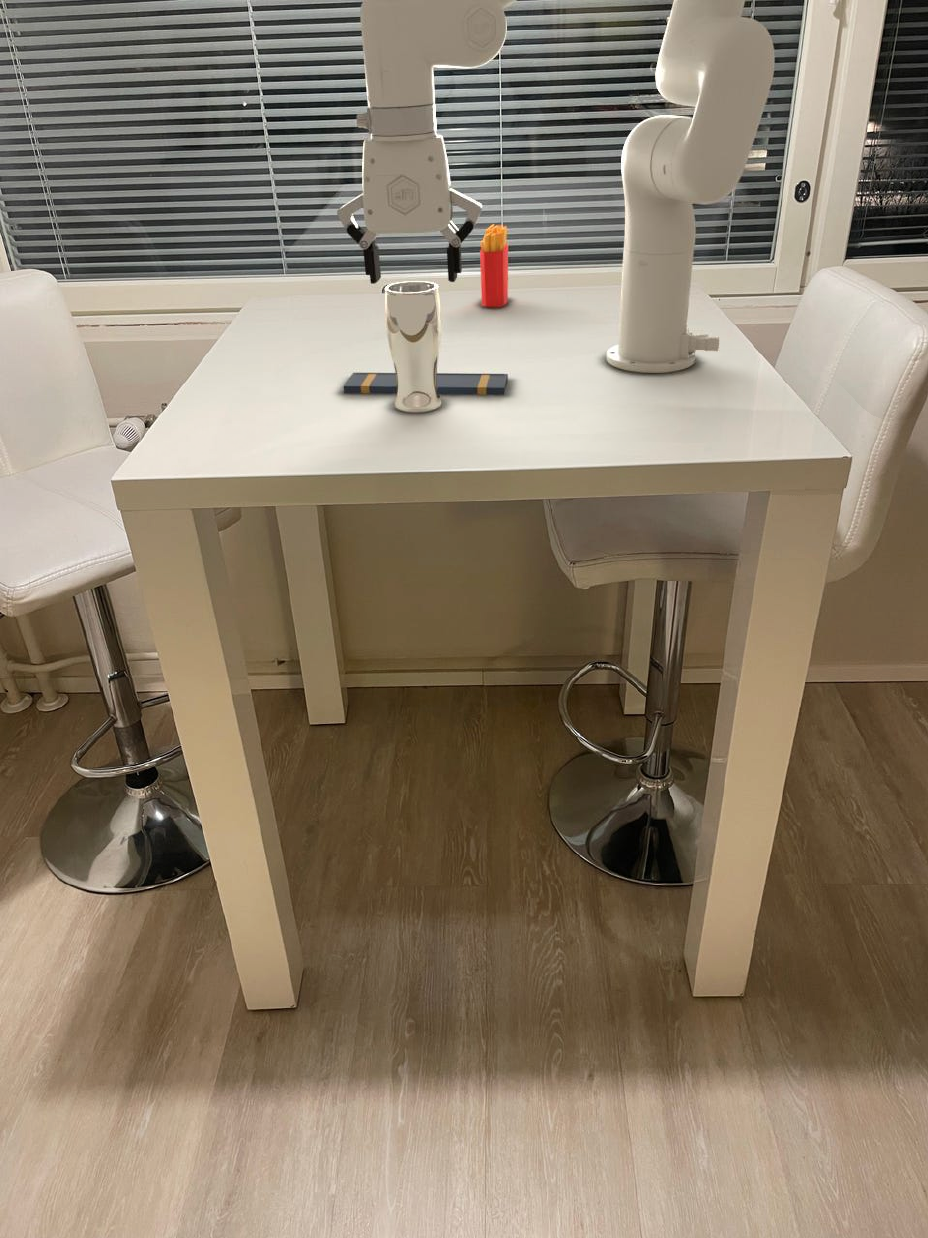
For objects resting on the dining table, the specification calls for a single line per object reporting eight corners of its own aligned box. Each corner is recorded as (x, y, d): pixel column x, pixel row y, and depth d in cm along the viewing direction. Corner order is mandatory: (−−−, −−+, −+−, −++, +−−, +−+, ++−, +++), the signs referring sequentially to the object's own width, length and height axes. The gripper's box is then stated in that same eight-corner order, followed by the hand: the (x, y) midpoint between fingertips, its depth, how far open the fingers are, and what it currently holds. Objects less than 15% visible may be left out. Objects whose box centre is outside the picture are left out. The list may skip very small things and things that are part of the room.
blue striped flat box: (507, 380, 132) (507, 372, 131) (504, 394, 127) (504, 386, 126) (353, 379, 134) (353, 371, 134) (344, 393, 129) (343, 385, 129)
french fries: (487, 296, 174) (486, 221, 168) (510, 297, 174) (510, 221, 167) (478, 309, 167) (476, 230, 160) (502, 309, 166) (501, 230, 159)
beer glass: (438, 415, 121) (432, 293, 113) (385, 412, 122) (376, 292, 114) (449, 397, 126) (445, 280, 118) (399, 395, 128) (391, 280, 120)
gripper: (320, 130, 105) (338, 289, 114) (475, 123, 103) (481, 286, 112) (336, 123, 111) (352, 274, 120) (482, 117, 109) (487, 271, 118)
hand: (414, 280), depth 116 cm, fingers open, 9 cm apart
